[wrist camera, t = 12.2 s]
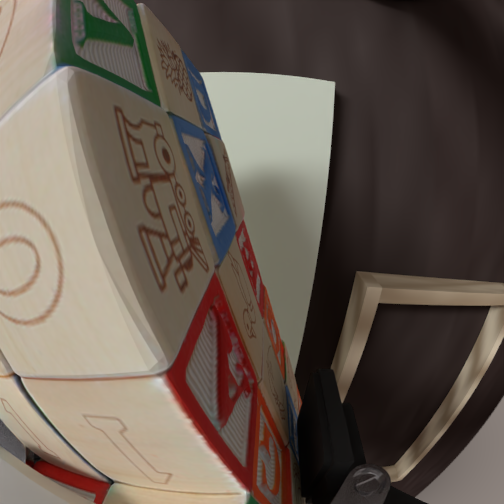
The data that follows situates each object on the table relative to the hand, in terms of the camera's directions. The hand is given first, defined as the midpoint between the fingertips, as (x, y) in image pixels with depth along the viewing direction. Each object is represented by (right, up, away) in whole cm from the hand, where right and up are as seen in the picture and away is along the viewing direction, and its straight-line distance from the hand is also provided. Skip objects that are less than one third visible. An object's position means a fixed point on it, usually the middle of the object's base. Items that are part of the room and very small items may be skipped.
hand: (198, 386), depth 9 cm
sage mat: (+1, +3, +9) cm, 10 cm away
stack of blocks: (0, +1, +4) cm, 4 cm away
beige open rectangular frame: (+16, -11, +12) cm, 23 cm away
